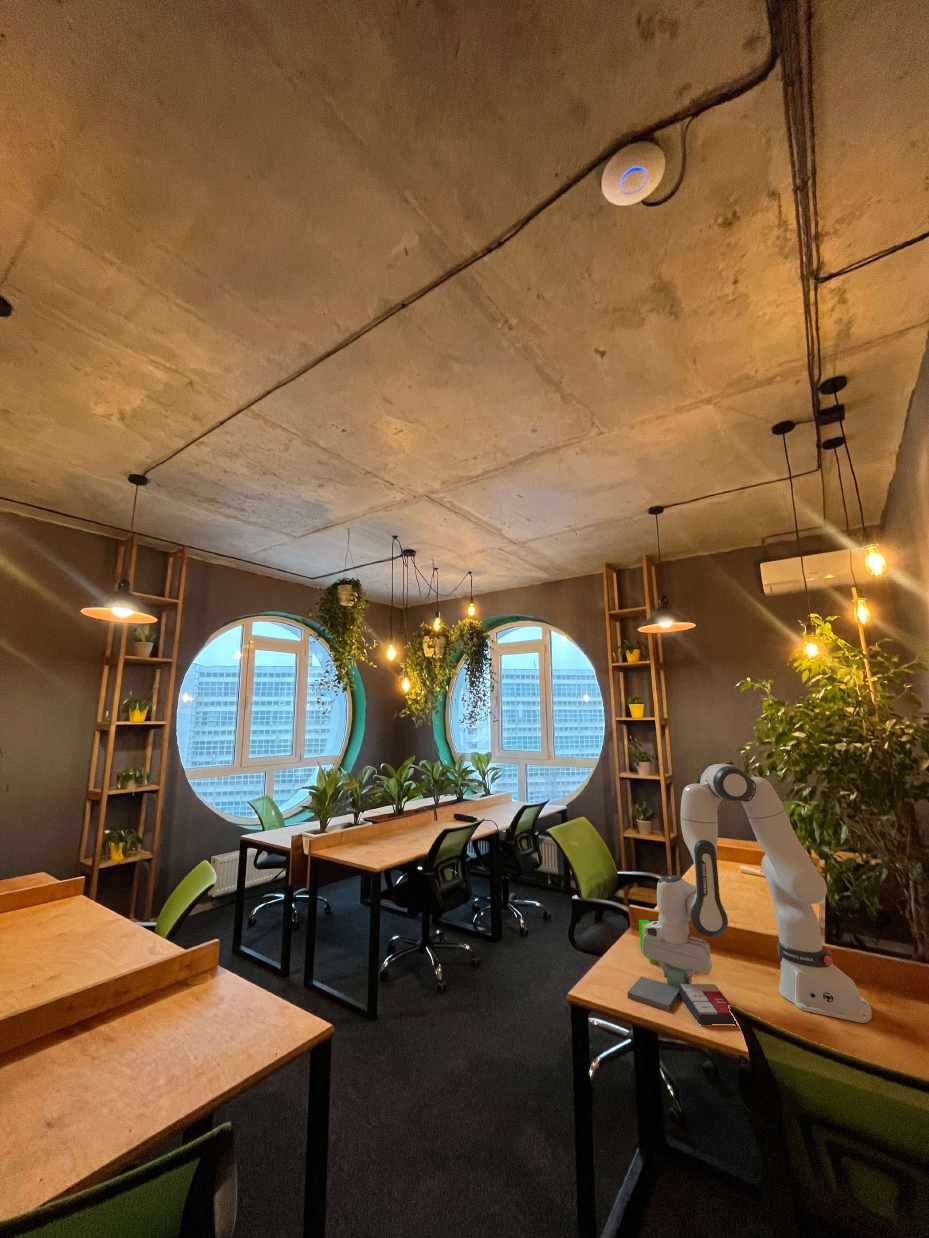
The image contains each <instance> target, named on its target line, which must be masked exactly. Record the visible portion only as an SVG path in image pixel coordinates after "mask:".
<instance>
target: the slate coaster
mask: <svg viewBox="0 0 929 1238" xmlns="http://www.w3.org/2000/svg"><path fill="white" fill-rule="evenodd" d="M627 999H630V1000H633V1001H636V1002H640V1003H642V1004H645V1005H648V1006H651V1007H655V1008H657V1009H661V1010H662V1011H666V1012H670V1011H671V1009H672V1008H673V1006H674V1005H675V1004H676V1003H677V1000H678V999H680V997H679V988H678V987H675V986H672V985H668V984H667V983H665V982H661V981H658V980H656V979H652V978H649V977H645V976H643V975H642V976H640V977H639V978H638V979H637V981H636V982H635V983H634V984H633V985H632V986H631V987H630V989H629V990H628V991H627Z"/></svg>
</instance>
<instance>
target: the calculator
mask: <svg viewBox="0 0 929 1238" xmlns="http://www.w3.org/2000/svg"><path fill="white" fill-rule="evenodd" d="M679 999H680V1000H681V1001H682V1003H683V1004H684V1005H685V1006H686V1008H687V1009H688V1011H689V1012H690V1014H691V1015H692V1017H693V1018H694V1020H695V1021H696V1020H697V1021H696V1022H697V1024H698V1023H699V1024H701V1025H712V1024H735V1025H736V1026H735V1027H738V1026H737V1024H736V1021H735V1020H734V1018H733V1016H732V1015H731V1013H730V1012H729V1008H728V1005H732V1004H731V1003H730V1001H729V1000H728V998H726V996H725V995H724V994H723V993H722V992H721V989H719V988H718V986H717V985H715V984H714V983H692V984H679ZM699 1024H698V1025H699Z"/></svg>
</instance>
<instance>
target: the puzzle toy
mask: <svg viewBox="0 0 929 1238" xmlns="http://www.w3.org/2000/svg"><path fill="white" fill-rule="evenodd" d="M652 921H659V919H639V920H638V926H639V943H640V945H639V946H640V951H641V952H642V954H643V951H642V942H643V936H644V935H645V933H644V928H645V926H646V925H647V924H648V923H650V922H652ZM646 959H647V961H648V963H650V964H659V961H657V960H653V959H650V958H646Z"/></svg>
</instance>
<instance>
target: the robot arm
mask: <svg viewBox="0 0 929 1238" xmlns="http://www.w3.org/2000/svg"><path fill="white" fill-rule="evenodd" d="M681 795H682V796H681V800H680V828H681V833H682V839H683V841H684V843H685V844H686V847H687V849H688V851H689V852H690V856H691V857H692V861H693V866H694V875H695V885H694V884H692V883H690V882H688V881H686V880H685V879H684V878H682V877H681V876H680V875H677V874H675V875H674V874H669V875H663V876H662V877H660V878H659V879H658V881H657V885H656V903H657V904H656V905H657V908H658V919H657V920H659V921H652V922H650V923H648V924H647V925H646V926H645V928H644V933H645V935H644V936H643V942H642V951H643V953H642V954H643V956H644V958H646V959H647V958H650V959H653V960H657V961H659V963H658V965H659V966H660V968H661V970H662V972H663V977H664V978H665V979H667V972H666V969H667V968H668V967H667V966H666V964H668V965H670V964H671V965H675V966H678V967H682V968H685V969H688V976H686V977H685V983H686V984H693V980H692V978H693V976H694V974H695V972H697V973H700V974H703V975H709V974H710V973H711V971H712V968H713V965H712V960H711V946H710V944H709V942H708V941H706V940H705V939H704V938H702V937H697V936H694V935H690V927H689V922H691V924H692V925H693V927H694V929H695V930H696V931H697V932H698V933H699V934H701V935H702V936H705V937H708V938H717V937H720V936H722V935H723V934H724V933H725V932H726V931H727V928H728V924H729V918H728V915H727V912H726V910H725V908H724V906H723V903H722V902H721V897H720V886H719V885H720V883H719V873H718V842H719V841H718V840H719V839H718V837H719V835H718V834H719V821H718V808H719V805H720V804H721V802H722V800H726V801H728V802H734V803H735V802H740V804H741V805H742V806H743V809H744V811H745V814H746V817H747V819H748V821H749V824H750V826H751V828H752V832H753V834H754V835H755V838H756V842H757V843H758V844H759V846H760V847H761V848H762V851H764V853H765V854H764V856H763V857H762V859H761V863H760V864H761V869H762V872H763V874H764V876H765V879H766V883H767V886H768V890H769V894H770V897H771V900H772V904H773V907H774V913H775V916H776V927H777V935H778V940H777V952H778V957H779V961H780V976H779V977H780V979H779V983H778V984H779V985H778V988H777V989H778V993H779V994H780V995H781V997H783V998H785V999H786V1000H788V1001H789V1002H791V1003H792V1004H794V1005H795V1006H796V1007H797V1008H798V1009H799V1010H801V1011H805V1012H808V1013H813V1014H818V1015H823V1016H828V1017H832V1018H838V1019H842V1020H847V1021H851V1022H855V1023H856V1022H857V1023H861V1024H866V1023H869V1022H870V1021H871V1020H872V1018H873V1011H872V1007H871V1005H870V1003H869V1002H868V1001H867V1000H866V999H864V998H863V997H861V995H860V991H859V989H858V987H857V985H856V983H855V982H854V980H853V979H852V978H851V977H849V976H848V975H846V973H844V972H843V971H842V970H841V969H840V968H838V967H837V966H836V965H835V964H833V959H832V953H831V951H830V949H828V950H827V949H825V947H823V944H822V937H821V928H820V922H819V918H818V916H817V913H816V912H815V910H814V908H813V905H815V904H820V903H821V902H822V901H824V899H825V898H826V896H827V893H828V887H827V883H826V880H825V879H824V877H823V876H822V875H821V873H820V872H819V871H818V869H817V868H816V867H815V865H814V863H813V861H812V860H811V857H810V856H809V854H808V853H807V851H806V849H805V848H804V846H803V845H802V843H801V841H800V840H799V838H798V837H797V834H796V831H794V829H793V828H794V827H793V825H792V823H791V822H790V819H789V816H788V814H787V812H786V810H785V807H784V806H783V802H782V801H781V799H780V797H779V795H778V793H777V792H776V790H775V788H774V787H773V785H772V784H771V782H770V781H768V779H766V778H764V777H760V776H752V777H750V776H749V775H748V774H747V773H746V772H744V771H743V770H742V769H740V768H738V767H736V766H733V765H731V764H727V763H720V762H713V763H710V764H707V765H706V766H704V768H703V769H702V771H701V773H700V775H699V777H698V779H697V781H696V783H691V784H687V785H686V786H685V787H684V788H683V790H682V794H681ZM642 951H641V952H642Z"/></svg>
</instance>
